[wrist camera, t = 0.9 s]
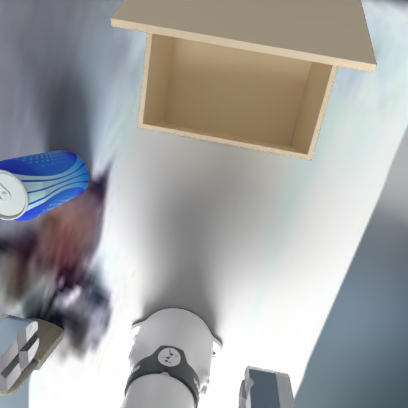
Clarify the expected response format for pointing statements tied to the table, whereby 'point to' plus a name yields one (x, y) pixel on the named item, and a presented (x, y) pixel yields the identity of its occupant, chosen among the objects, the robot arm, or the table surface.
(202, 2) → the carton flap
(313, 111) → the carton
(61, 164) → the beer can
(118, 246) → the table surface
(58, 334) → the padlock
